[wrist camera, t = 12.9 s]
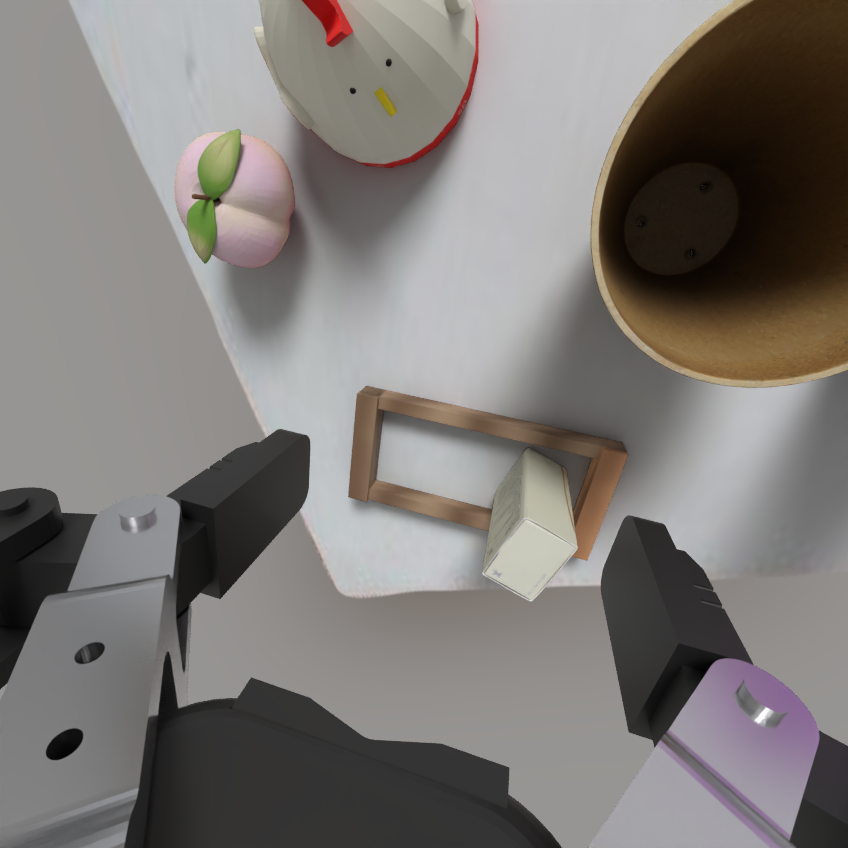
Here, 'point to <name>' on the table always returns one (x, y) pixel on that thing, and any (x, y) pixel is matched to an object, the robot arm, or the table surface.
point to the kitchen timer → (372, 71)
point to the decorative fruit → (234, 198)
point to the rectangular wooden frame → (374, 402)
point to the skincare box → (530, 526)
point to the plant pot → (735, 200)
